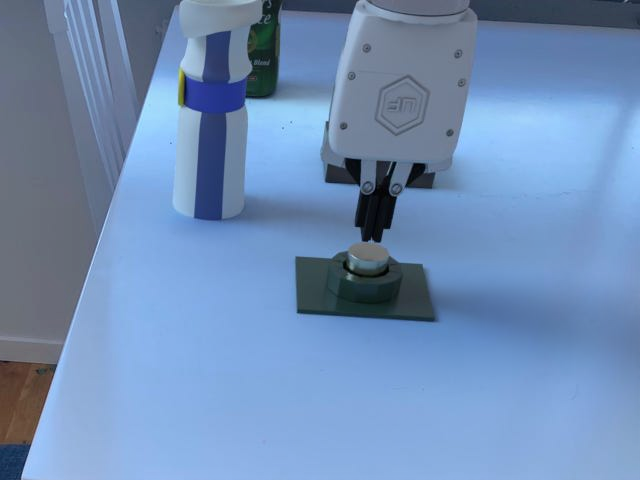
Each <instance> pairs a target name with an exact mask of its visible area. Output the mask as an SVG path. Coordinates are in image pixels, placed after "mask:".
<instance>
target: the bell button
mask: <svg viewBox="0 0 640 480" xmlns="http://www.w3.org/2000/svg"><path fill="white" fill-rule="evenodd" d="M347 251H348V255H347V261H346V266H345V270H346V271H347V272H348V273H350V274H352V275H355V276H358V277H364V278H377V277H382V276H384V275H385V272H386V268H387V263H388V258H389V256H390V252H389V250H388V249H387V248H386V247H384V246H383V245H381V244H379V243H374V242H356V243H354V244H352V245H350V246H349V248H348V250H347Z"/></svg>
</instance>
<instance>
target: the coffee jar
mask: <svg viewBox="0 0 640 480" xmlns="http://www.w3.org/2000/svg"><path fill="white" fill-rule="evenodd" d="M282 6H283V0H262V18H261V20H260V21H259V22H257V23H255V24H253V25H251V27H250V31H249V35H248V41H247V53H248V58H249V61H250V62H251V65H252V71H251V72H250V73H249V74H248V75H247V84H246V96H249V97H250V96H251V97H265V96H267V95H269V94H271V93H273V92H274V91H275V90H276V89H277V87H278V84H279V76H280V63H281V62H280V60H281V59H280V58H281V57H280V56H281V26H282V8H283V7H282Z"/></svg>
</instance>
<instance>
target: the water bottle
mask: <svg viewBox="0 0 640 480" xmlns="http://www.w3.org/2000/svg"><path fill="white" fill-rule="evenodd" d="M178 11H179V13H178V16H179V17H178V20H179V26H180V29H181V32H182V35H183V36H182V37H183V39H187V45H186V49H185V53H184V56H183V58H182V59H181V61H180V64H179V67H178V88H177V90H178V91H177V105H178V106H179V110H178V115H177V127H176V146H175V147H176V148H175V164H174V165H175V166H174V167H175V168H174V178H173V180H174V181H173V191H172V207H173V208H174V210H175V211H176V212H177V213H179V214H181V215H182V216H185V217H188V218H191V219H195V220H201V221H221V220H226V219H231V218H233V217H236V216H238V215H239V214H241V213H242V212H243V210H244V207H245V180H246V179H245V177H246V160H247V159H246V158H247V157H246V156H247V144H248V130H249V129H248V128H249V116H248V114H249V113H248V109H247V105H246V96H247V95H246V84H247V75H248V74H249V73H250V72H251V71H252V65H251V62H250V61H249V58H248V53H247V41H248V35H249V31H250V27H251V25H253V24H255V23H257V22H259V21H260V20H261V18H262V0H181V1H180V3H179V9H178Z"/></svg>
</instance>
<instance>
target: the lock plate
mask: <svg viewBox="0 0 640 480" xmlns="http://www.w3.org/2000/svg"><path fill="white" fill-rule="evenodd" d="M328 121H329V120H325V123H324V131H323V138H322V143H321V146H322V145H323V142H324V139H325V137H326V134H327V132H328V129H329V127H328ZM322 163H323V175H324V182H325V183H337V184H338V183H340V184H354V185H358V184H357V183H356V182H355V180H354V179H353V178H352V176H351V175H350V173H349V172H348V171H347V169H345V168H342V167H341V168H340V167H337V166H334V165H331V164H328V163H325V162H323V161H322ZM390 164H391V161H379V160H377V161H376V178H377V182H378V185H379V184H381V181H383V178H384V177H386V176H387V172H388V170H389V167H390ZM436 173H437V172H433V173H423V174H422V175H421V176H420V177H418V178H417V179H416V180H414V181H413V182H412V183H411V184H409V185H408V186H407V187H406V188H423V189H432V188H433V185H434V181H435V176H436Z"/></svg>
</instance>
